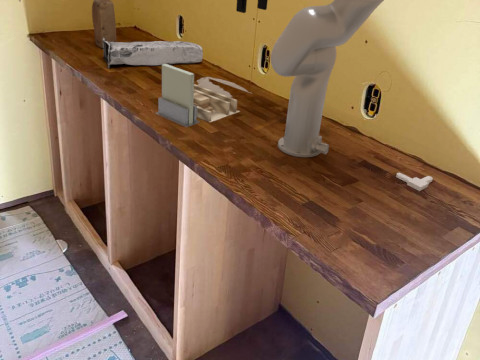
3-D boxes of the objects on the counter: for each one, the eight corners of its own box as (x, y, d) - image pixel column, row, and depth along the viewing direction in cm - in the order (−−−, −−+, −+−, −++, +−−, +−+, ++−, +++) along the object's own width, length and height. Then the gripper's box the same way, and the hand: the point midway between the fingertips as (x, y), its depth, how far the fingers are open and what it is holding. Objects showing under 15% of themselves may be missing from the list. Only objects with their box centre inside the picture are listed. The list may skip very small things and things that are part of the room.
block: (118, 48, 214) (115, 1, 204) (102, 50, 210) (99, 2, 200) (107, 42, 221) (105, -4, 211) (92, 44, 217) (88, -3, 207)
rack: (239, 115, 155) (240, 99, 152) (209, 126, 145) (210, 109, 143) (196, 98, 166) (196, 83, 163) (165, 107, 156) (165, 91, 153)
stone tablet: (226, 112, 158) (226, 105, 157) (187, 83, 180) (187, 77, 179) (267, 106, 166) (268, 99, 165) (225, 79, 188) (225, 73, 187)
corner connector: (409, 171, 130) (410, 166, 130) (435, 184, 125) (437, 178, 124) (392, 179, 126) (393, 173, 125) (419, 192, 120) (420, 187, 120)
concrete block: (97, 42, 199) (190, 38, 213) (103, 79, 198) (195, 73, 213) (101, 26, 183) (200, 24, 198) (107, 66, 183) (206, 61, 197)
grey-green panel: (192, 122, 143) (194, 73, 136) (189, 124, 142) (190, 74, 135) (165, 111, 150) (165, 63, 142) (162, 112, 149) (161, 64, 141)
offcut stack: (212, 112, 152) (213, 98, 149) (201, 116, 148) (202, 102, 146) (190, 103, 157) (190, 90, 155) (179, 106, 154) (179, 93, 151)
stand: (200, 126, 145) (201, 106, 142) (186, 131, 141) (186, 111, 138) (169, 112, 153) (169, 93, 149) (154, 117, 148) (154, 97, 145)
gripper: (247, -52, 125) (242, 15, 134) (286, -52, 137) (279, 10, 145) (226, -55, 129) (222, 11, 138) (265, -55, 141) (259, 5, 149)
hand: (251, 10), depth 142 cm, fingers open, 9 cm apart
